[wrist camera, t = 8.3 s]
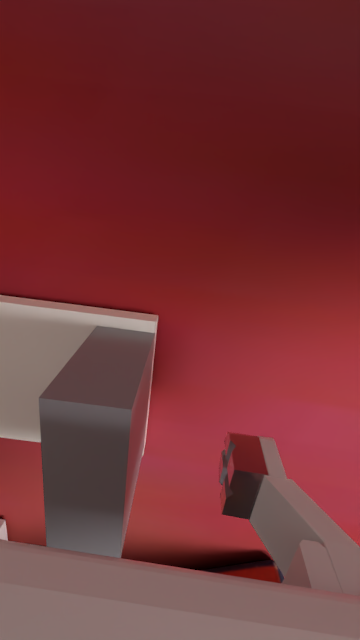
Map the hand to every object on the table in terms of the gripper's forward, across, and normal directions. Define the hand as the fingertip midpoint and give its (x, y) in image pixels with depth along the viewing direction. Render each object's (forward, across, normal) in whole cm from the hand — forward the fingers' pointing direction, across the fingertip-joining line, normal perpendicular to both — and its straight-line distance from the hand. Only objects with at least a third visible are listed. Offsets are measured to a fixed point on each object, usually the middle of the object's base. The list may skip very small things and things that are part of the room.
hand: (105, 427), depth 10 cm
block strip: (+4, +8, +1) cm, 9 cm away
